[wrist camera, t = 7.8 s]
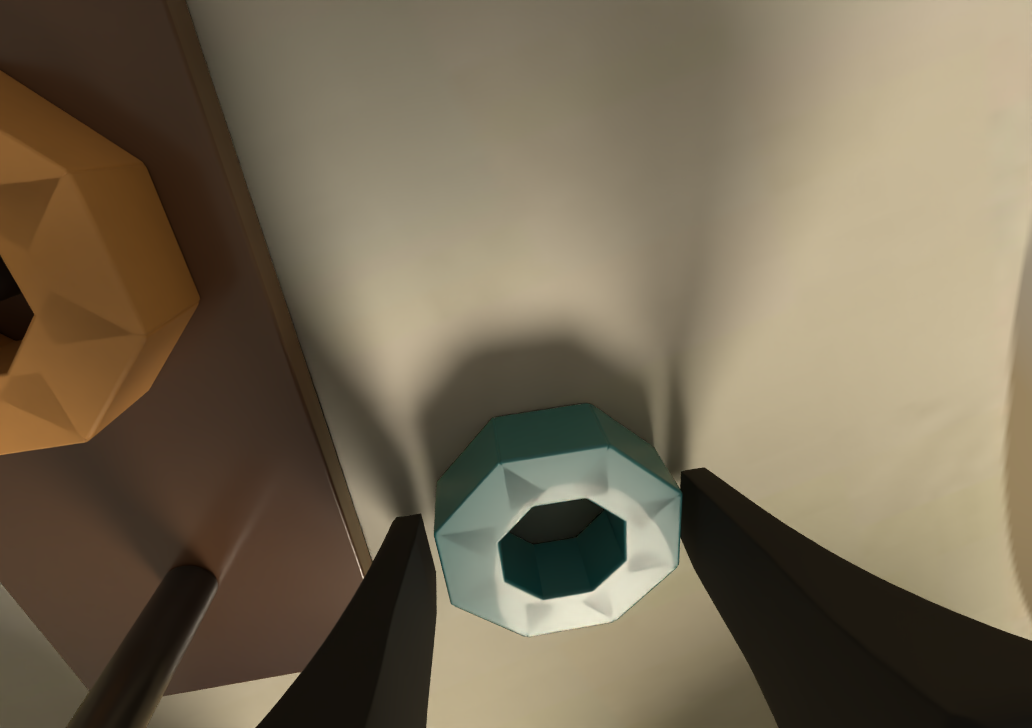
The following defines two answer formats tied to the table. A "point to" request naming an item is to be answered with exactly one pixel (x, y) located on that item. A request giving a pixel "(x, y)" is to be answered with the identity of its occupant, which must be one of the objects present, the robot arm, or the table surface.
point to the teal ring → (547, 480)
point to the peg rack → (176, 411)
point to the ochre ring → (81, 276)
